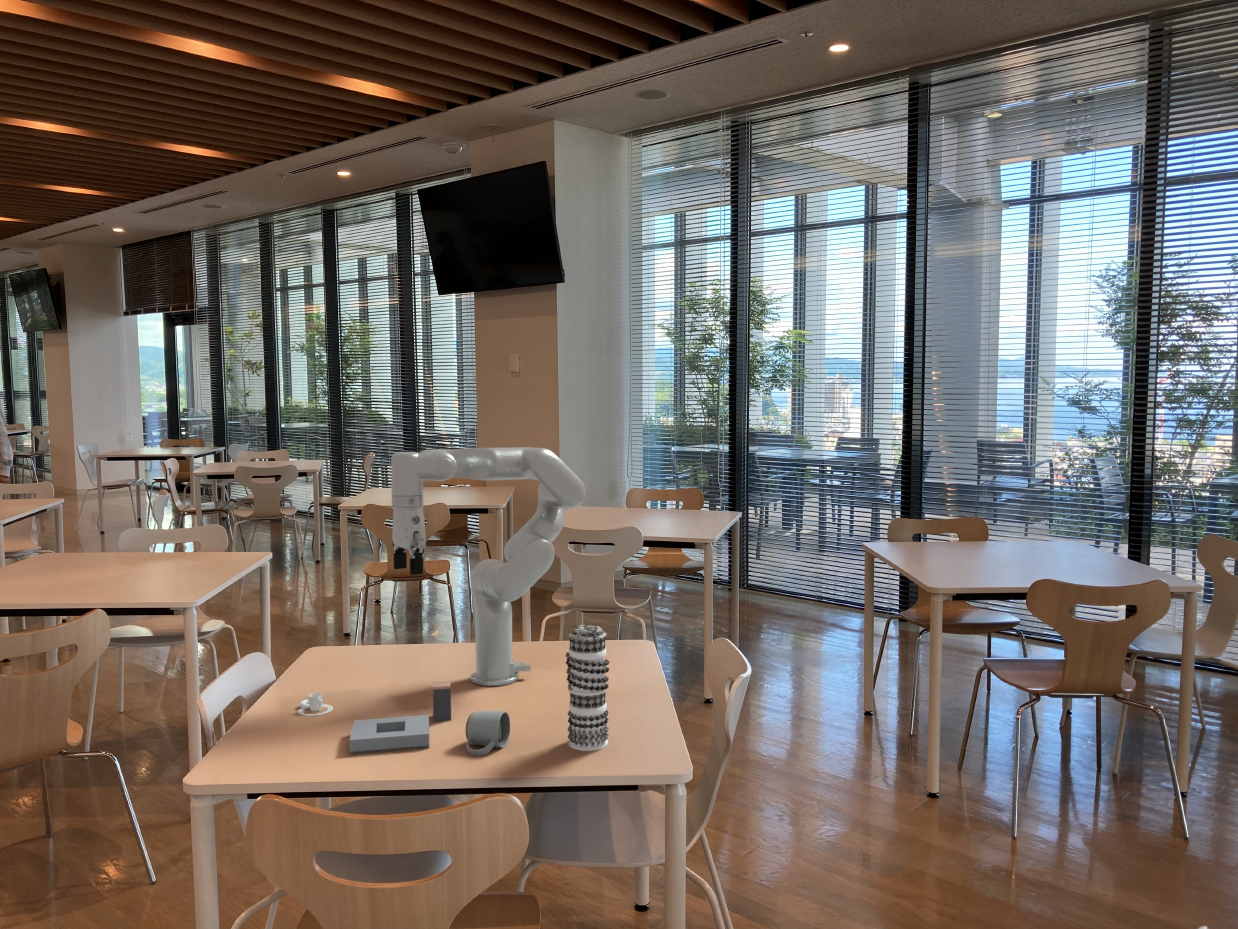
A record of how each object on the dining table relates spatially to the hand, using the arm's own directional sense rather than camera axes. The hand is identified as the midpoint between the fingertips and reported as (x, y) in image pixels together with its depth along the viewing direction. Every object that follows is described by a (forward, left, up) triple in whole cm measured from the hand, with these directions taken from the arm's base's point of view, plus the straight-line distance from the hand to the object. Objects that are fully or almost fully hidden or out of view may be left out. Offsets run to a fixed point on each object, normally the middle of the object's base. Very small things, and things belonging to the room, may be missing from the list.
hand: (408, 571), depth 222 cm
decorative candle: (-37, +42, -31) cm, 64 cm away
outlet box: (+4, +31, -31) cm, 44 cm away
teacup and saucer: (+21, +4, -32) cm, 38 cm away
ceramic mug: (-16, +39, -31) cm, 53 cm away
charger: (-7, +19, -31) cm, 37 cm away
